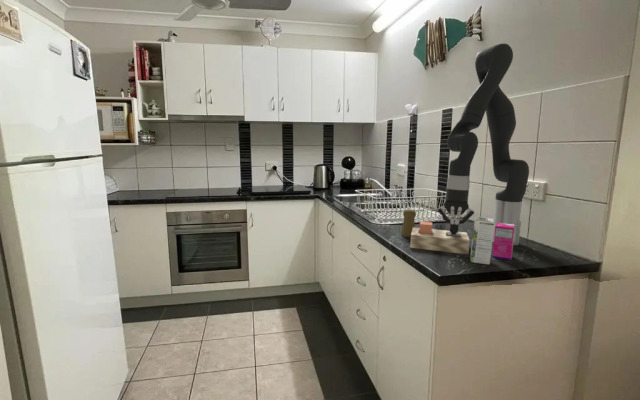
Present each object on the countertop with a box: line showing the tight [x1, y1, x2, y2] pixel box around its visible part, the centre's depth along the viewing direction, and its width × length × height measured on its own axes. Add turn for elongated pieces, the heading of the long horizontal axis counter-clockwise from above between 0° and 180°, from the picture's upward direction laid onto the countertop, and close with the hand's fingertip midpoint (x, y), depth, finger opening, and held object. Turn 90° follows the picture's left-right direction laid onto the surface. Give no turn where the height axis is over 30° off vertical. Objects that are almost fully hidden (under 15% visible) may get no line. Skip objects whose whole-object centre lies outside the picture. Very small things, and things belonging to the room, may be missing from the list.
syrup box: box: [469, 216, 495, 265], centre depth 109 cm, size 6×6×14 cm
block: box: [409, 226, 471, 255], centre depth 125 cm, size 20×12×5 cm, turn 71°
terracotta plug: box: [419, 221, 433, 234], centre depth 126 cm, size 4×4×5 cm
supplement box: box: [492, 223, 515, 261], centre depth 114 cm, size 6×6×12 cm
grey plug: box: [447, 232, 460, 237], centre depth 123 cm, size 4×4×5 cm
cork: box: [400, 208, 417, 238], centre depth 140 cm, size 6×6×11 cm
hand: (453, 233), depth 123 cm, fingers closed
